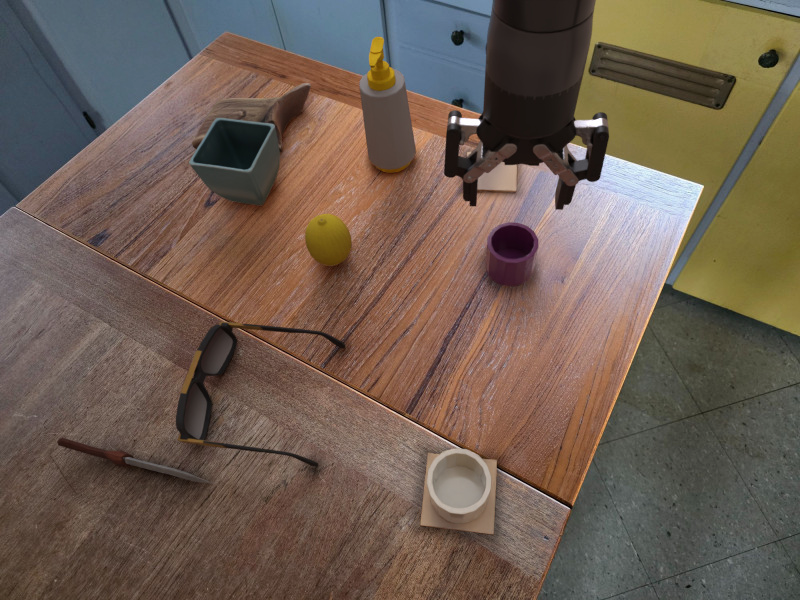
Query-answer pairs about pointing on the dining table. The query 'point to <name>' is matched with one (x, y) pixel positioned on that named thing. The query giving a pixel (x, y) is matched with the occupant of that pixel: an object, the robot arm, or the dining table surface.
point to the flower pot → (238, 160)
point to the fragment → (258, 111)
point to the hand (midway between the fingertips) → (515, 201)
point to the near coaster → (478, 525)
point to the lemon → (328, 239)
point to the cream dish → (459, 485)
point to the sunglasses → (213, 363)
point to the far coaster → (499, 179)
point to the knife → (126, 459)
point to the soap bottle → (386, 113)
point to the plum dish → (511, 253)
